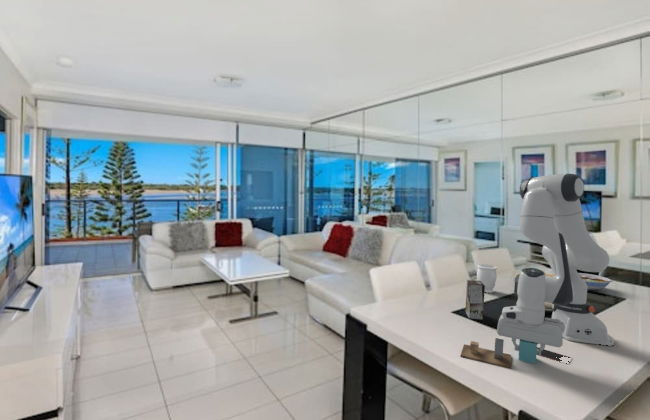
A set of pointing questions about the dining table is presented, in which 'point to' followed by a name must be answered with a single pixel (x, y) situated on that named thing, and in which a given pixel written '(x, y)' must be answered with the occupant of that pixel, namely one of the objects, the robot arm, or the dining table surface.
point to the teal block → (527, 351)
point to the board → (484, 355)
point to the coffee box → (475, 299)
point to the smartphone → (552, 355)
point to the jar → (487, 276)
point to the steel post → (498, 349)
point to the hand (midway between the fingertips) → (527, 352)
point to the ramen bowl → (594, 281)
